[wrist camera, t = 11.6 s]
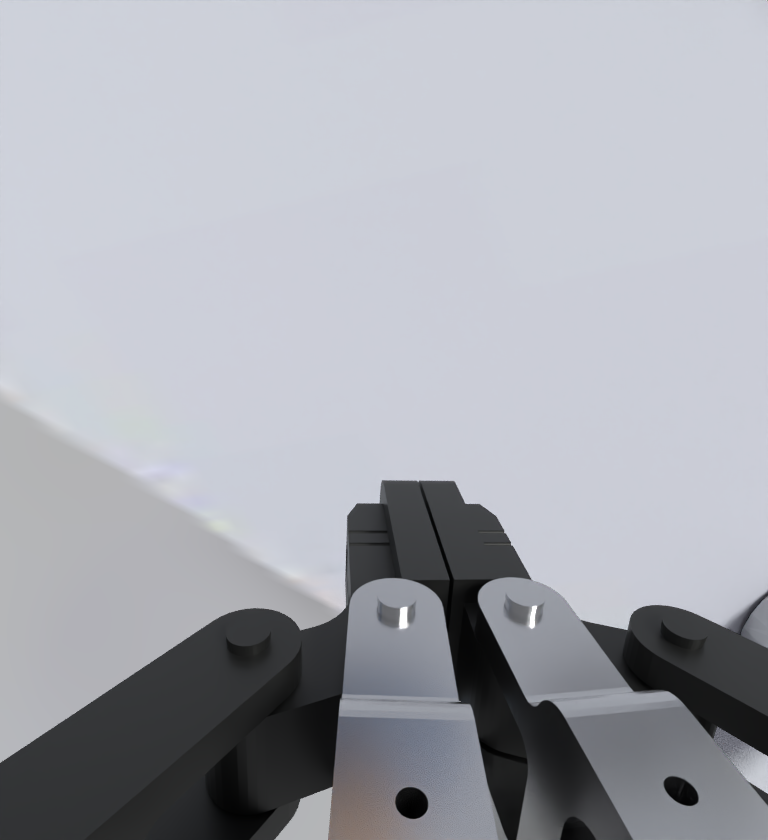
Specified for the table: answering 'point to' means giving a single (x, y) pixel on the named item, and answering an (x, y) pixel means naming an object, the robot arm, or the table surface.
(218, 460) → the table surface
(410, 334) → the table surface
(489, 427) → the table surface
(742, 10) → the table surface
